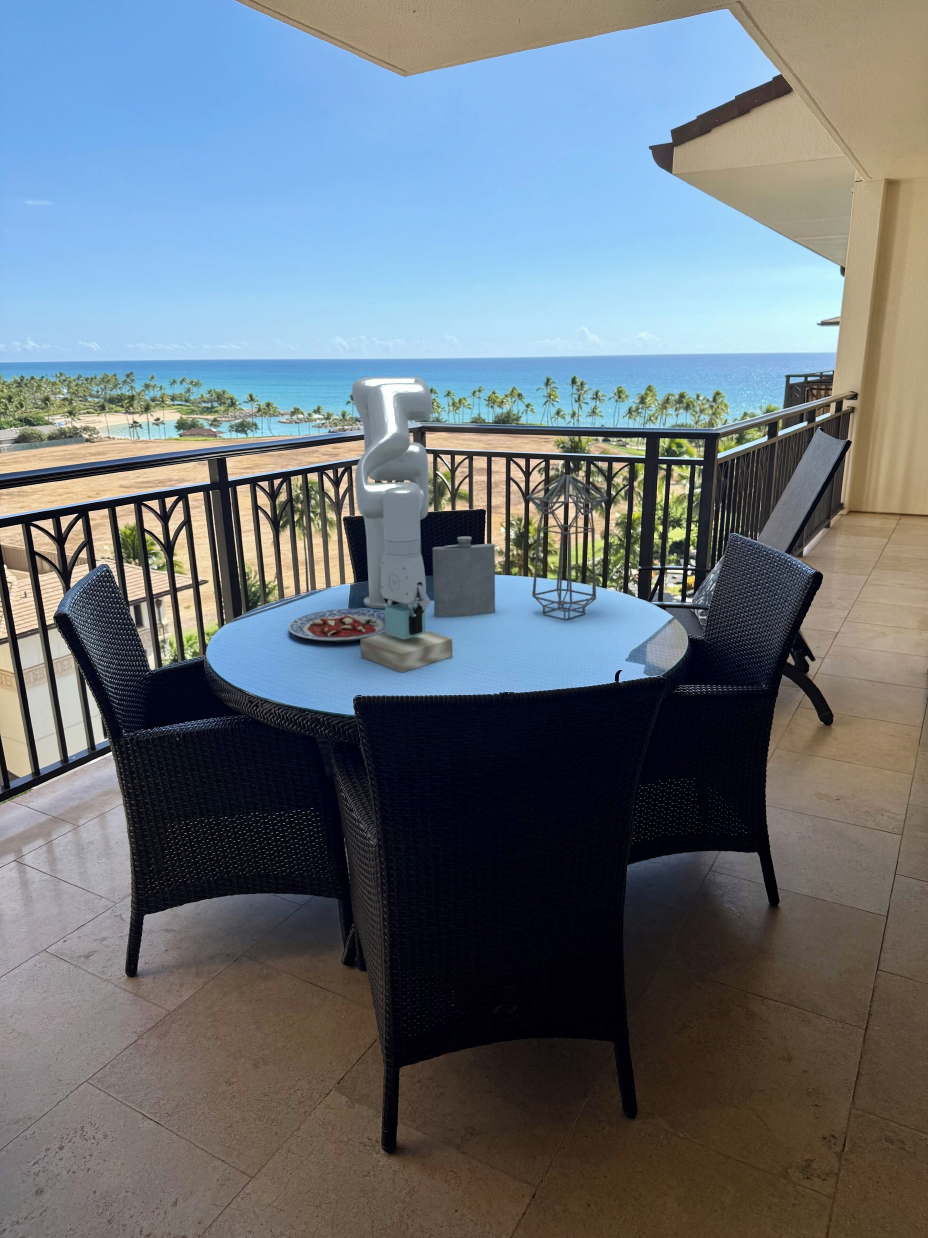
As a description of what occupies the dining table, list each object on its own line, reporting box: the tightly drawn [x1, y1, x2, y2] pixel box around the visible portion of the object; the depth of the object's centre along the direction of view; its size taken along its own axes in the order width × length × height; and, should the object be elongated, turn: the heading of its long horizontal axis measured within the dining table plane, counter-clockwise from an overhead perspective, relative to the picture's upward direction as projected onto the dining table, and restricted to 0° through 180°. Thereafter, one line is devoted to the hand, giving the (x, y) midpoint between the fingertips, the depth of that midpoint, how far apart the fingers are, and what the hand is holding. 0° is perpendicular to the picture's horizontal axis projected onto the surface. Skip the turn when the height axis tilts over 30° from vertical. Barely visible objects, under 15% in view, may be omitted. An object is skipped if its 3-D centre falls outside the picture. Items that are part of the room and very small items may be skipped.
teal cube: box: [384, 603, 427, 639], centre depth 173 cm, size 6×6×6 cm
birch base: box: [359, 630, 454, 673], centre depth 175 cm, size 14×14×4 cm
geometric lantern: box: [526, 474, 610, 621], centre depth 201 cm, size 16×16×35 cm
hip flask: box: [432, 535, 496, 618], centre depth 204 cm, size 16×4×20 cm, turn 104°
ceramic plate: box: [288, 608, 386, 643], centre depth 194 cm, size 26×26×3 cm
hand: (405, 629), depth 173 cm, fingers closed on teal cube, 5 cm apart
